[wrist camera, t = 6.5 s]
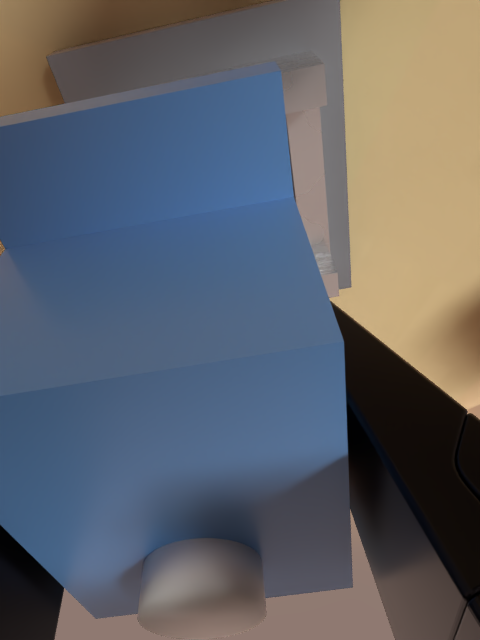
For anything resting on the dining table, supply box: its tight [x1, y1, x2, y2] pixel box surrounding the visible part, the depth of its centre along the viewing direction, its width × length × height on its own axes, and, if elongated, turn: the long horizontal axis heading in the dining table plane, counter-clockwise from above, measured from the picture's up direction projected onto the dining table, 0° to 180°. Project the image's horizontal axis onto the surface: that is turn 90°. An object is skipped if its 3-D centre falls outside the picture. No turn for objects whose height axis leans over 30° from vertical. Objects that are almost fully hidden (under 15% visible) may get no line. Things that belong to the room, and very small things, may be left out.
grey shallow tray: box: [46, 0, 351, 298], centre depth 18 cm, size 10×12×4 cm
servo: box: [0, 61, 353, 640], centre depth 7 cm, size 4×8×7 cm, turn 10°
